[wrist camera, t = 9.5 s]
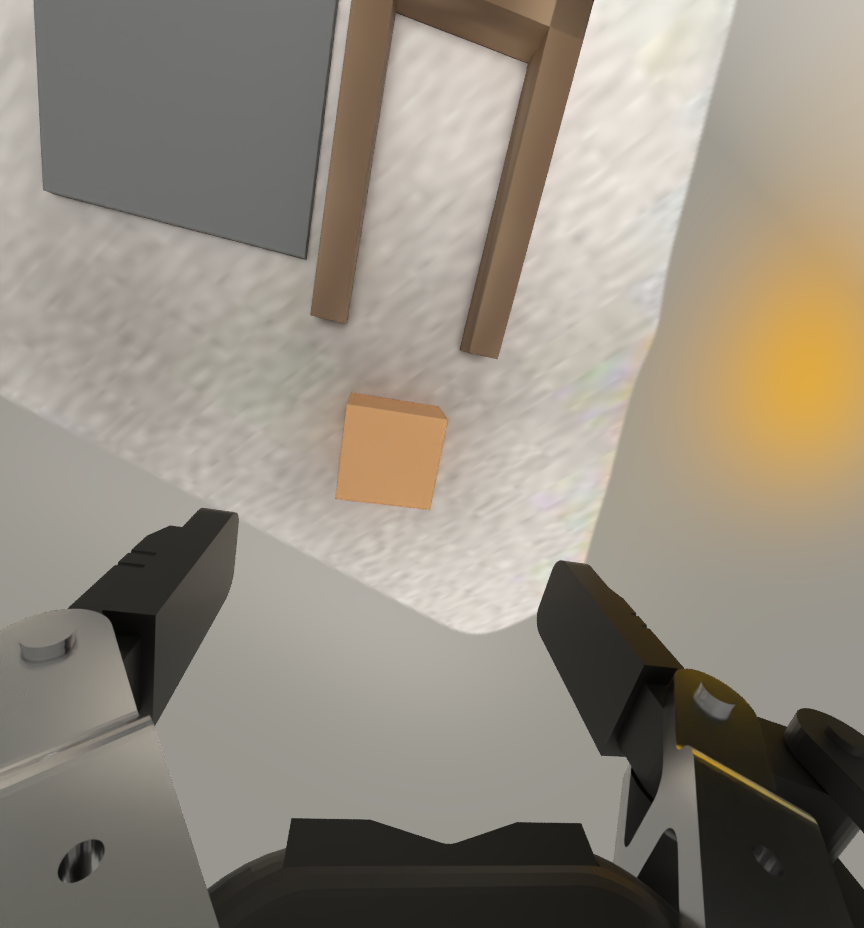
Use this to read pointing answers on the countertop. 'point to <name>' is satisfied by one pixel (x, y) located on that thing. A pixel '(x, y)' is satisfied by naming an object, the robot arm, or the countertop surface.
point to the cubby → (527, 161)
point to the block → (390, 451)
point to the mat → (188, 111)
